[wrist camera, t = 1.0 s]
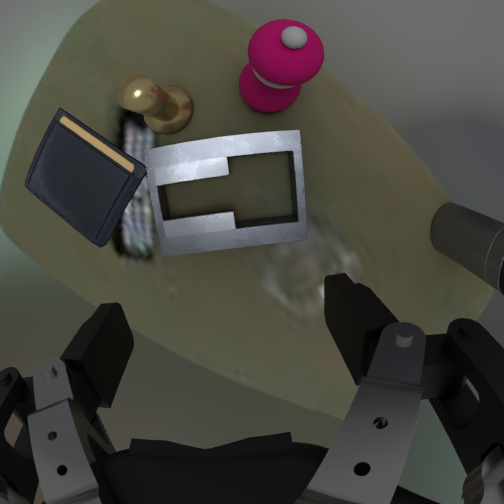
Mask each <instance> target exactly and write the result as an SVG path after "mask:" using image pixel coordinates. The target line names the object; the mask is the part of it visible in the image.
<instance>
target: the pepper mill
mask: <svg viewBox="0 0 504 504" xmlns="http://www.w3.org/2000/svg"><path fill="white" fill-rule="evenodd" d="M248 56H249V61H250V62H249V63H248V64H247V65H246V66H245V68H244V69H243V71H242V73H241V75H240V79H239V89H240V92H241V95H242V97H243V98H244V100H245V101H246V103H247V104H248V105H249V106H250V107H251V108H253V109H254V110H256V111H259V112H264V113H271V112H277V111H281V110H284V109H286V108H288V107H289V106H290V105H292V104H293V102H294V101H295V100H296V99H297V97H298V95H299V93H300V89H301V84H303V83H305V82H307V81H309V80H310V79H312V78H313V77H314V76H315V75H316V74H317V73H318V72H319V70H320V68H321V66H322V64H323V61H324V49H323V45H322V42H321V40H320V38H319V37H318V35H317V34H316V33H315V32H314V31H313V30H312V29H311V28H310V27H308V26H307V25H305V24H303V23H300V22H298V21H293V20H287V19H281V20H275V21H271V22H268V23H266V24H264V25H263V26H261V27H260V28H259V29H257V30H256V32H255V33H254V34H253V36H252V38H251V40H250V42H249V46H248Z"/></svg>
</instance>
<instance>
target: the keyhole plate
mask: <svg viewBox="0 0 504 504" xmlns="http://www.w3.org/2000/svg"><path fill="white" fill-rule="evenodd" d="M278 151H288V158H289V169H290V181H291V193H292V207H293V215H290V216H280V217H271V218H262V219H253V220H245V221H236V222H235V218H234V210H228V211H220V212H212V213H205V214H197V215H190V216H183V217H176V218H170V214H169V208H168V202H167V196H166V190H165V184H170V183H176V182H182V181H188V180H195V179H201V178H208V177H216V176H223V175H229V170H228V161H227V157H229V156H238V155H246V154H256V153H267V152H278ZM144 155H145V162H146V169H147V176H148V182H149V188H150V194H151V200H152V206H153V211H154V217H155V222H156V227H157V232H158V237H159V242H160V246H161V251H162V255H163V257H166V256H174V255H182V254H190V253H199V252H207V251H215V250H224V249H232V248H241V247H249V246H258V245H266V244H275V243H284V242H292V241H301V240H307V222H306V204H305V189H304V175H303V163H302V151H301V141H300V131H299V130H289V131H274V132H261V133H251V134H241V135H232V136H224V137H217V138H210V139H203V140H196V141H190V142H184V143H179V144H173V145H168V146H163V147H158V148H153V149H148V150H144Z"/></svg>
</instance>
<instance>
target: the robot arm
mask: <svg viewBox="0 0 504 504" xmlns="http://www.w3.org/2000/svg"><path fill="white" fill-rule="evenodd" d="M431 239H432V243H433V245H434V247H435V248H436V249H437V250H438V251H439V252H441V253H443V254H444V255H446V256H447V257H449V258H450V259H452V260H453V261H455V262H457V263H458V264H460V265H461V266H463V267H464V268H466V269H467V270H469V271H470V272H472V273H473V274H475V275H476V276H478V277H479V278H480V279H482V280H483V281H485V282H486V283H488V284H489V285H491V286H492V287H493V288H495V289H496V290H498V291H499V292H500V293H502V294H503V295H504V223H503V222H500V221H498V220H495V219H493V218H491V217H488V216H486V215H483V214H481V213H478V212H476V211H473V210H471V209H468V208H466V207H463V206H460V205H457V204H454V203H448V204H445V205H444V206H442V207H441V208H440V209H439V211H438V212H437V214H436V215H435V217H434V220H433V223H432V227H431ZM324 314H325V321H326V324H327V327H328V329H329V331H330V333H331V335H332V337H333V339H334V341H335V343H336V345H337V347H338V349H339V351H340V353H341V355H342V357H343V359H344V361H345V363H346V365H347V367H348V369H349V371H350V373H351V375H352V378H353V380H354V382H355V384H356V386H358V385H359V388H358V390H357V393H356V395H355V397H354V399H353V402H352V404H351V406H350V408H349V411H348V413H347V415H346V417H345V419H344V421H343V423H342V425H341V427H340V430H339V431H338V433H337V435H336V437H335V439H334V441H333V443H332V445H331V447H330V449H328V448H325V447H322V446H318V445H314V444H308V443H298V442H292V438H291V433H290V432H286V433H280V434H274V435H266V436H259V437H250V438H246V439H243V440H239V441H236V442H232V443H229V444H225V445H222V446H218V447H214V448H210V449H201V448H196V447H191V446H187V445H182V444H178V443H174V442H170V441H164V440H163V441H162V440H145V439H131V443H130V448H129V449H126V450H122V451H118V452H117V451H116V450H115V448H114V446H113V444H112V442H111V440H110V438H109V436H108V433H107V431H106V429H105V427H104V425H103V423H102V421H101V418H100V416H99V414H98V413H97V412H96V411H97V408H98V407H103V408H111V405H112V402H113V399H114V397H115V394H116V391H117V388H118V386H119V383H120V380H121V378H122V375H123V373H124V370H125V368H126V365H127V362H128V360H129V358H130V355H131V353H132V350H133V347H134V340H133V335H132V332H131V330H130V327H129V325H128V322H127V320H126V317H125V314H124V312H123V309H122V307H121V305H120V304H119V303H105V304H101V305H100V306H99V307H98V308H97V310H96V311H95V313H94V314H93V315H92V317H91V318H90V319H88V320H87V321H86V322H85V323H83V325H82V326H81V327H80V329H79V330H78V333H76V335H75V336H74V339H73V340H72V341H71V342H70V344H69V345H68V347H67V348H66V350H65V351H64V353H63V354H62V356H61V357H60V359H52V360H48V361H46V362H44V363H42V364H41V365H40V366H39V367H38V368H37V369H36V371H35V372H34V375H33V377H27V378H22V376H21V375H20V373H19V372H18V370H17V369H16V368H14V367H9V368H6V369H4V370H2V371H1V372H0V504H33V503H34V499H35V494H36V491H37V487H38V483H39V482H40V485H41V489H42V492H43V495H44V499H45V501H44V502H43V503H41V504H440V503H437V502H435V501H432V500H430V499H427V498H425V497H423V496H420V495H418V494H415V493H413V492H411V491H409V490H407V489H405V488H403V487H400V486H398V485H397V484H398V482H399V479H400V476H401V473H402V470H403V467H404V464H405V461H406V458H407V454H408V451H409V448H410V444H411V441H412V437H413V433H414V429H415V425H416V421H417V417H418V412H419V407H420V402H421V400H422V399H429V401H430V403H431V405H432V406H433V408H434V410H435V412H436V414H437V415H438V417H439V419H440V421H441V423H442V425H443V427H444V429H445V431H446V432H447V434H448V436H449V438H450V440H451V442H452V444H453V446H454V448H455V450H456V452H457V454H458V457H459V459H460V461H461V463H462V465H463V467H464V469H465V471H466V474H467V477H466V478H465V481H464V483H463V488H462V492H463V493H462V496H461V499H462V501H463V503H464V504H504V348H503V347H502V346H501V345H500V344H499V343H498V342H497V341H496V340H495V339H494V338H493V337H492V336H491V335H490V333H489V332H488V331H486V329H485V328H484V327H482V325H481V324H479V323H478V322H476V321H474V320H471V319H467V318H459V319H456V320H453V321H452V322H451V323H450V324H449V327H448V330H447V333H446V334H435V335H425V333H424V331H423V330H422V329H421V328H420V327H418V326H417V325H415V324H412V323H408V322H399V321H398V320H397V318H396V317H395V316H394V315H393V314H392V313H391V311H390V310H389V309H388V308H387V307H386V306H385V305H384V303H382V301H381V300H380V299H379V298H378V297H377V296H376V294H375V293H374V292H373V291H372V290H371V289H370V288H368V287H366V286H364V285H362V284H360V283H357V284H354V283H353V281H352V280H351V279H350V278H349V277H348V276H347V274H346V273H341V274H335V275H329V276H326V277H325V281H324ZM467 379H469V381H470V382H471V383H472V385H473V386H474V388H475V389H476V390H477V392H478V394H479V402H478V400H477V399H476V397H475V395H474V394H473V392H472V391H471V390H470V388H469V387H468V385H467V384H466V381H467ZM12 413H14V415H15V416H16V417H17V418H18V420H19V421H20V422H21V423H22V424H23V426H22V429H21V431H20V433H19V436H18V438H17V440H16V443H15V445H14V448H13V447H12V446H11V445H10V444H9V443H8V442H7V441H6V439H5V436H4V429H5V427H6V425H7V423H8V420H9V419H10V417H11V414H12Z"/></svg>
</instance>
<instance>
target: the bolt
mask: <svg viewBox="0 0 504 504" xmlns="http://www.w3.org/2000/svg"><path fill="white" fill-rule="evenodd" d="M117 99H118V102H119V104H120V105H121V106H122V107H123V108H125V109H128V110H131V111H134V112H137V113H140V114H143V116H144V120H145V122H146V124H147V125H148V126H149V127H150V128H151V129H152V130H154V131H156V132H159V133H164V134H172V133H176V132H178V131H180V130H182V129H183V128H184V127H185V126H186V125H187V124H188V123H189V121H190V120H191V117H192V114H193V104H192V101H191V99H190V98H189V96H188V95H187V94H186V93H185V92H184V91H183V90H181V89H179V88H177V87H171V86H168V87H163V88H160V87H159V86H158V85H157V84H155V83H154V82H153V81H151V80H150V79H149V78H147V77H146V76H144V75H140V74H137V75H132V76H130V77H128V78H127V79H125V80H124V81H123V82H122V83H121V85H120V87H119V89H118V93H117Z"/></svg>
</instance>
